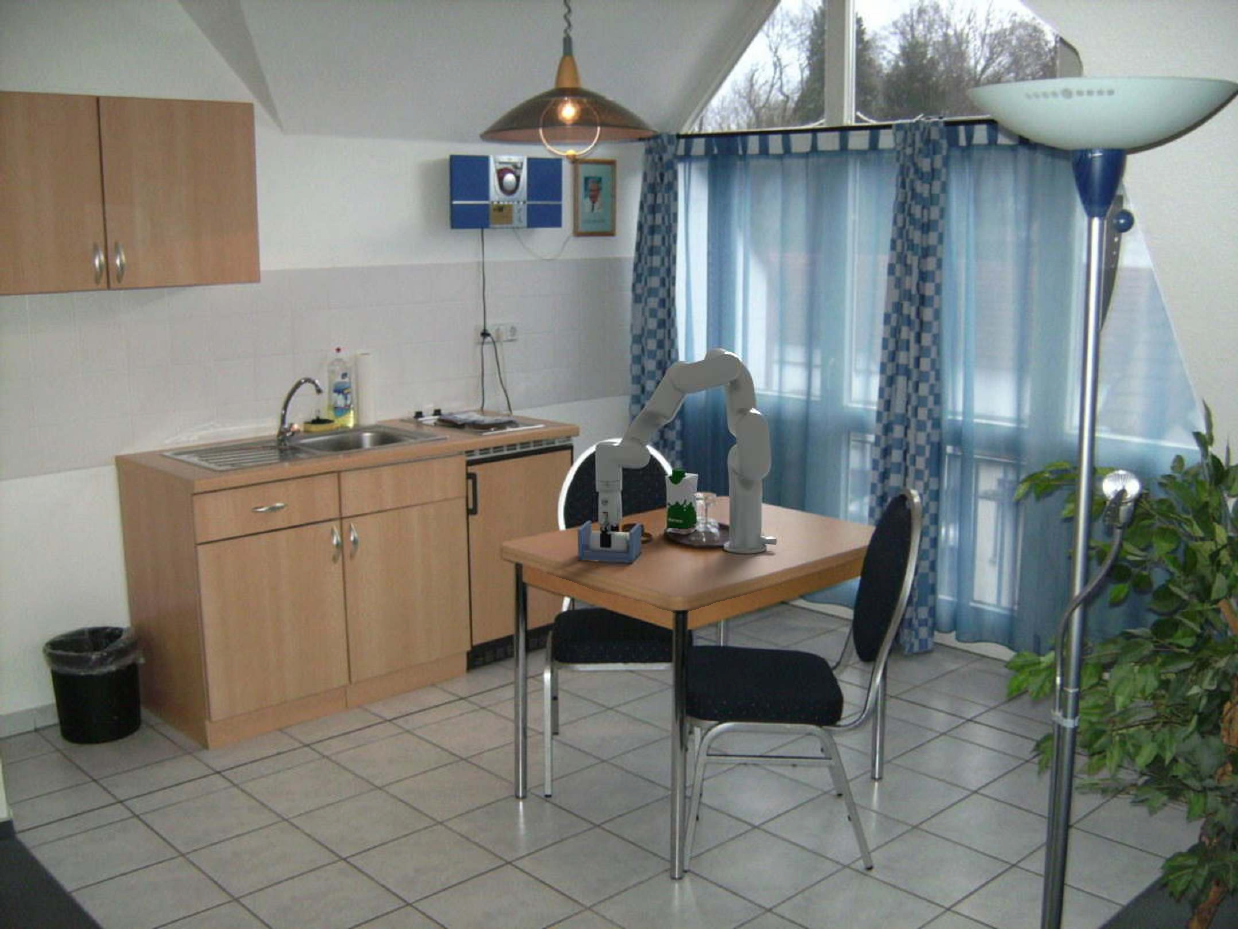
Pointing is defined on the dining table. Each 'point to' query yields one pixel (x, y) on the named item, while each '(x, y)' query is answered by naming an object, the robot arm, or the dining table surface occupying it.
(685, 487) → the milk carton
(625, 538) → the roll
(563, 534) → the dining table surface
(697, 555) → the dining table surface
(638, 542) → the holder
